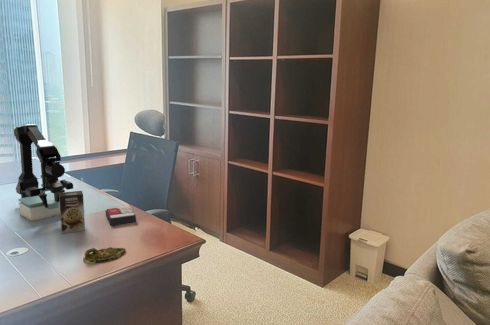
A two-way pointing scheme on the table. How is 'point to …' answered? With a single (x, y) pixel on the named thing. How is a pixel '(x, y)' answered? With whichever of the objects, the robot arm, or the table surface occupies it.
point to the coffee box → (72, 211)
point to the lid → (40, 201)
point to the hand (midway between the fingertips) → (51, 206)
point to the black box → (120, 216)
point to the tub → (37, 211)
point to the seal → (103, 255)
